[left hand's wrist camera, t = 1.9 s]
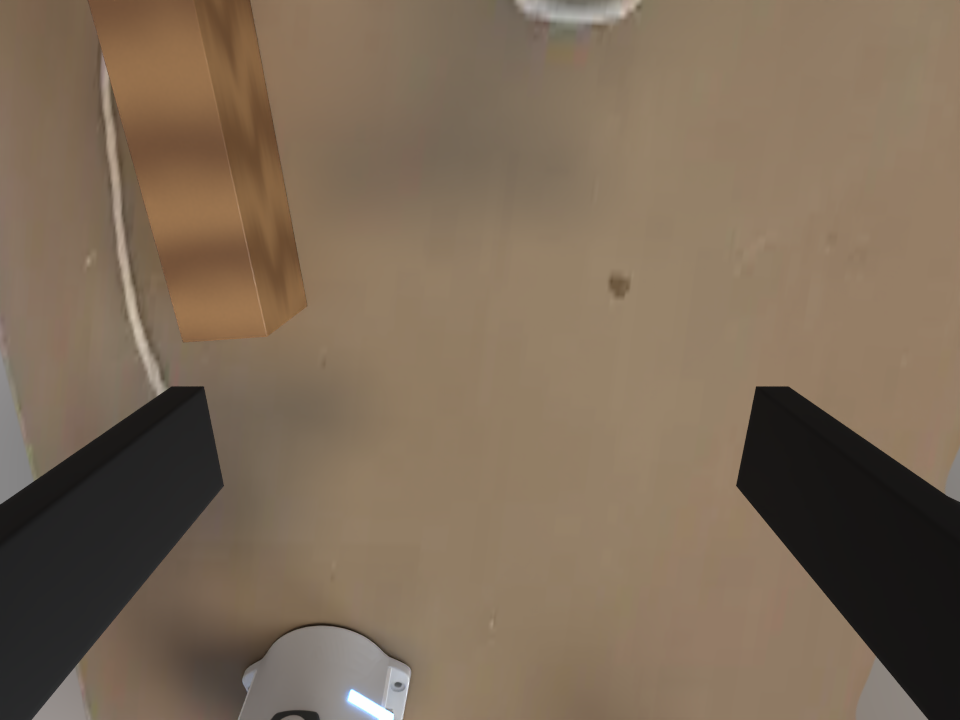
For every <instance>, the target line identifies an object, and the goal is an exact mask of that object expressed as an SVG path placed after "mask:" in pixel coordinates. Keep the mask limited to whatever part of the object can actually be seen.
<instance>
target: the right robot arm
mask: <svg viewBox="0 0 960 720" xmlns="http://www.w3.org/2000/svg"><path fill="white" fill-rule="evenodd" d="M410 677H411V669H410V668H409V667H408V666H407V665H406V664H404V663H402V662H400V661H398V660H396V659H393V658H391V657H389V656H388V655H386V654H385V653H384V652H383V651H382V650H381V649H380V648H379V647H378V646H377V645H376V644H374V643H373V642H372V641H371V640H369V639H367V638H366V637H364V636H362V635H360V634H358V633H356V632H353V631H351V630H348V629H344V628H340V627H334V626H310V627H304V628H300V629H297V630H294V631H292V632H289V633H287V634H285V635H284V636H282V637H281V638H279V639H278V640H277V641H276V642H275V643H274V644H273V645H272V646H271V647H270V649H269V650H268V652H267V653H266V655H265V656H264V657H263V658H262V659H261V660H260V661H258V662H256V663H254V664H252V665H251V666H249V667H248V668H247V669H246V670H245V673H244V676H243V679H242V682H243V685H244V687H245V689H246V691H247V696H246V698H245V701H244V704H243V707H242V709H241V712H240V715H239V718H238V720H403V716H404V710H405V704H406V699H407V693H408V688H409V682H410Z"/></svg>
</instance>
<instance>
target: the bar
mask: <svg viewBox="0 0 960 720" xmlns="http://www.w3.org/2000/svg"><path fill="white" fill-rule="evenodd" d="M88 3H89V6H90V10H91V13H92V17H93V21H94V24H95V28H96V31H97V35H98V39H99V42H100V46H101V49H102V53H103V57H104V60H105V64H106V67H107V71H108V75H109V78H110V82H111V85H112V89H113V92H114V96H115V100H116V103H117V107H118V110H119V114H120V118H121V121H122V125H123V128H124V132H125V136H126V139H127V143H128V146H129V150H130V154H131V157H132V161H133V164H134V168H135V172H136V175H137V179H138V182H139V186H140V190H141V193H142V197H143V200H144V204H145V208H146V211H147V215H148V218H149V222H150V225H151V229H152V233H153V236H154V240H155V243H156V247H157V251H158V254H159V258H160V261H161V265H162V269H163V272H164V276H165V279H166V283H167V287H168V290H169V294H170V297H171V301H172V305H173V308H174V312H175V315H176V319H177V323H178V326H179V330H180V333H181V337H182V341H183V342H197V341H211V340H225V339H239V338H253V337H267V336H268V335H270V334H271V333H272V332H274V331H275V330H276V329H278V328H279V327H280V326H282V325H283V324H284V323H286V322H287V321H288V320H290V319H291V318H292V317H293V316H295V315H296V314H297V313H299V312H300V311H301V310H303V309H304V308H305V307H307V302H306V297H305V292H304V286H303V281H302V276H301V270H300V265H299V260H298V254H297V249H296V244H295V239H294V233H293V228H292V223H291V217H290V212H289V207H288V201H287V196H286V191H285V185H284V180H283V175H282V169H281V164H280V159H279V153H278V148H277V143H276V138H275V132H274V127H273V122H272V116H271V111H270V106H269V100H268V95H267V90H266V84H265V79H264V74H263V68H262V63H261V58H260V52H259V47H258V42H257V37H256V31H255V26H254V21H253V15H252V10H251V5H250V0H88Z"/></svg>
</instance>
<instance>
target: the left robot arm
mask: <svg viewBox="0 0 960 720" xmlns="http://www.w3.org/2000/svg"><path fill="white" fill-rule="evenodd" d="M223 486H224V485H223V480H222V475H221V470H220V465H219V460H218V455H217V450H216V445H215V440H214V435H213V430H212V425H211V420H210V415H209V410H208V405H207V400H206V395H205V390H204V387H170V388H169V389H167V390H166V391H164V392H163V393H162V394H160V395H159V396H157V397H156V398H154V399H153V400H151V401H150V402H148V403H147V404H146V405H144V406H143V407H141V408H140V409H138V410H137V411H135V412H134V413H133V414H131V415H130V416H128V417H127V418H125V419H124V420H122V421H121V422H119V423H118V424H117V425H115V426H114V427H112V428H111V429H109V430H108V431H106V432H105V433H104V434H102V435H101V436H99V437H98V438H96V439H95V440H93V441H92V442H90V443H89V444H88V445H86V446H85V447H83V448H82V449H80V450H79V451H77V452H76V453H75V454H73V455H72V456H70V457H69V458H67V459H66V460H64V461H63V462H61V463H60V464H59V465H57V466H56V467H54V468H53V469H51V470H50V471H48V472H47V473H46V474H44V475H43V476H41V477H40V478H38V479H37V480H35V481H34V482H32V483H31V484H30V485H28V486H27V487H25V488H24V489H22V490H21V491H19V492H18V493H17V494H15V495H14V496H12V497H11V498H9V499H8V500H6V501H5V502H3V503H2V504H0V720H32V719H33V717H34V716H35V715H36V714H37V712H38V711H39V710H40V709H41V708H42V706H43V705H44V704H45V703H46V701H47V700H48V699H49V698H50V697H51V695H52V694H53V693H54V692H55V691H56V689H57V688H58V687H59V686H60V684H61V683H62V682H63V681H64V680H65V678H66V677H67V676H68V675H69V674H70V672H71V671H72V670H73V669H74V667H75V666H76V665H77V664H78V663H79V661H80V660H81V659H82V658H83V656H84V655H85V654H86V653H87V652H88V650H89V649H90V648H91V647H92V646H93V644H94V643H95V642H96V641H97V639H98V638H99V637H100V636H101V635H102V633H103V632H104V631H105V630H106V628H107V627H108V626H109V625H110V624H111V622H112V621H113V620H114V619H115V618H116V616H117V615H118V614H119V613H120V611H121V610H122V609H123V608H124V607H125V605H126V604H127V603H128V602H129V600H130V599H131V598H132V597H133V596H134V594H135V593H136V592H137V591H138V590H139V588H140V587H141V586H142V585H143V583H144V582H145V581H146V580H147V579H148V577H149V576H150V575H151V574H152V573H153V571H154V570H155V569H156V568H157V566H158V565H159V564H160V563H161V562H162V560H163V559H164V558H165V557H166V555H167V554H168V553H169V552H170V551H171V549H172V548H173V547H174V546H175V545H176V543H177V542H178V541H179V540H180V538H181V537H182V536H183V535H184V534H185V532H186V531H187V530H188V529H189V527H190V526H191V525H192V524H193V523H194V521H195V520H196V519H197V518H198V517H199V515H200V514H201V513H202V512H203V510H204V509H205V508H206V507H207V506H208V504H209V503H210V502H211V501H212V499H213V498H214V497H215V496H216V495H217V493H218V492H219V491H220V490H221V489H222V487H223ZM736 486H737V487H738V489H739V490H740V491H741V492H742V493H743V495H744V496H745V497H746V498H747V499H748V501H749V502H750V503H751V504H752V506H753V507H754V508H755V509H756V510H757V512H758V513H759V514H760V515H761V517H762V518H763V519H764V520H765V521H766V523H767V524H768V525H769V526H770V527H771V529H772V530H773V531H774V532H775V534H776V535H777V536H778V537H779V538H780V540H781V541H782V542H783V543H784V545H785V546H786V547H787V548H788V549H789V551H790V552H791V553H792V554H793V555H794V557H795V558H796V559H797V560H798V562H799V563H800V564H801V565H802V566H803V568H804V569H805V570H806V571H807V573H808V574H809V575H810V576H811V577H812V579H813V580H814V581H815V582H816V583H817V585H818V586H819V587H820V588H821V590H822V591H823V592H824V593H825V594H826V596H827V597H828V598H829V599H830V600H831V602H832V603H833V604H834V605H835V607H836V608H837V609H838V610H839V611H840V613H841V614H842V615H843V616H844V618H845V619H846V620H847V621H848V622H849V624H850V625H851V626H852V627H853V628H854V630H855V631H856V632H857V633H858V635H859V636H860V637H861V638H862V639H863V641H864V642H865V643H866V644H867V646H868V647H869V648H870V649H871V650H872V652H873V653H874V654H875V655H876V656H877V658H878V659H879V660H880V661H881V663H882V664H883V665H884V666H885V667H886V669H887V670H888V671H889V672H890V673H891V675H892V676H893V677H894V678H895V680H896V681H897V682H898V683H899V684H900V686H901V687H902V688H903V689H904V691H905V692H906V693H907V694H908V695H909V697H910V698H911V699H912V700H913V701H914V703H915V704H916V705H917V706H918V708H919V709H920V710H921V711H922V712H923V714H924V715H925V716H926V717H927V718H928V720H960V502H958V501H956V500H954V499H952V498H950V497H948V496H946V495H945V494H943V493H942V492H941V491H939V490H938V489H936V488H935V487H933V486H932V485H930V484H929V483H928V482H926V481H925V480H923V479H922V478H920V477H919V476H917V475H916V474H914V473H913V472H912V471H910V470H909V469H907V468H906V467H904V466H903V465H901V464H900V463H899V462H897V461H896V460H894V459H893V458H891V457H890V456H888V455H887V454H885V453H884V452H883V451H881V450H880V449H878V448H877V447H875V446H874V445H872V444H871V443H870V442H868V441H867V440H865V439H864V438H862V437H861V436H859V435H858V434H856V433H855V432H854V431H852V430H851V429H849V428H848V427H846V426H845V425H843V424H842V423H841V422H839V421H838V420H836V419H835V418H833V417H832V416H830V415H829V414H827V413H826V412H825V411H823V410H822V409H820V408H819V407H817V406H816V405H814V404H813V403H812V402H810V401H809V400H807V399H806V398H804V397H803V396H801V395H800V394H798V393H797V392H796V391H794V390H793V389H791V388H790V387H756V390H755V395H754V400H753V405H752V410H751V415H750V420H749V425H748V430H747V435H746V440H745V445H744V450H743V455H742V460H741V465H740V470H739V475H738V480H737V485H736Z"/></svg>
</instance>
